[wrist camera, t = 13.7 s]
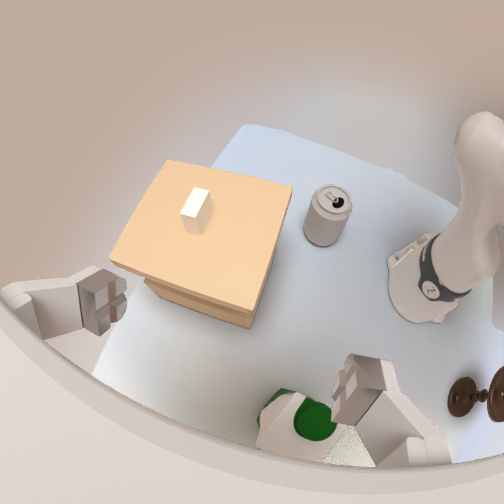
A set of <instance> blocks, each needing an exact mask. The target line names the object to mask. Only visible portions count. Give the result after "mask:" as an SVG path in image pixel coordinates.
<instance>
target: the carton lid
mask: <svg viewBox="0 0 504 504" xmlns="http://www.w3.org/2000/svg"><path fill="white" fill-rule="evenodd" d="M292 190H293V187H291V186H287V185H283V184H279V183H275V182H271V181H267V180H263V179H259V178H255V177H251V176H246V175H242V174H237V173H233V172H228V171H224V170H219V169H214V168H208V167H204V166H199V165H193V164H188V163H183V162H177V161H171V160H167V161H166V163H165V164H164V165H163V167H162V169H161V170H160V172H159V173H158V174H157V176H156V177H155V179H154V180H153V182H152V184H151V185H150V187H149V188H148V190H147V191H146V193H145V195H144V196H143V198H142V199H141V201H140V203H139V204H138V206H137V208H136V209H135V211H134V213H133V214H132V216H131V218H130V220H129V222H128V223H127V225H126V227H125V228H124V230H123V232H122V234H121V236H120V237H119V239H118V241H117V243H116V245H115V247H114V249H113V251H112V252H111V255H110V257H109V260H110V261H112V262H113V263H114V264H115V265H116V266H117V267H120V268H122V269H125V270H127V271H130V272H132V273H135V274H137V275H139V276H142V277H145V278H147V279H150V280H152V281H155V282H158V283H160V284H163V285H165V286H168V287H171V288H174V289H176V290H179V291H182V292H184V293H187V294H190V295H193V296H196V297H199V298H201V299H204V300H207V301H210V302H213V303H216V304H219V305H222V306H225V307H228V308H231V309H234V310H237V311H240V312H243V313H247V314H250V315H253V314H254V311H255V308H256V305H257V302H258V299H259V296H260V293H261V290H262V287H263V284H264V281H265V278H266V275H267V272H268V269H269V266H270V263H271V259H272V256H273V253H274V250H275V247H276V244H277V241H278V238H279V235H280V231H281V228H282V225H283V222H284V219H285V216H286V212H287V209H288V206H289V203H290V200H291V195H292Z"/></svg>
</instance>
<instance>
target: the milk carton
mask: <svg viewBox="0 0 504 504" xmlns="http://www.w3.org/2000/svg"><path fill="white" fill-rule="evenodd" d="M331 415H332V410H331V409H330V408H329V407H328V406H326V405H325V404H323V403H320V402H318V401H317V400H315V399H313V398H311V397H309V396H307V395H304V394H302V393H299V392H295V391H291V390H286V389H282V388H281V389H280V390H279V391H278V392H277V393H276V394H275V395H274V396H273V397H272V398H271V399H270V401H269V402H268V403H267V404H266V406H265V407H264V408H263V409H262V411H261V412H260V414H259V416H258V418H257V422H258V424H259V427H260V430H259V433H258V437H257V440H256V443H255V445H254V446H256V447H257V448H259V449H261V450H262V451H265V452H269V453H274V454H278V455H282V456H287V457H292V458H297V459H302V460H308V461H314V462H321V461H322V459H325V457H326V456H327V455H328V454H329V452H330V450H331V449H332V448H333V446H334V445H335V444H336V442H337V441H338V440H339V438H340V437H341V435H342V434H343V432H344V431H345V430H346V428H347V427H348V425H345V424H340V423H335V422H331Z"/></svg>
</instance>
